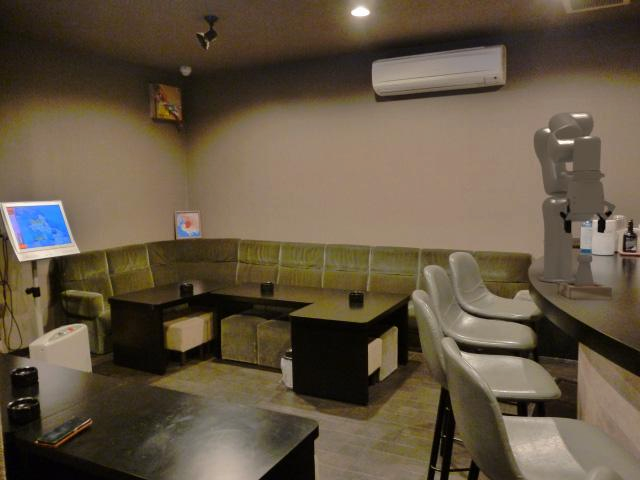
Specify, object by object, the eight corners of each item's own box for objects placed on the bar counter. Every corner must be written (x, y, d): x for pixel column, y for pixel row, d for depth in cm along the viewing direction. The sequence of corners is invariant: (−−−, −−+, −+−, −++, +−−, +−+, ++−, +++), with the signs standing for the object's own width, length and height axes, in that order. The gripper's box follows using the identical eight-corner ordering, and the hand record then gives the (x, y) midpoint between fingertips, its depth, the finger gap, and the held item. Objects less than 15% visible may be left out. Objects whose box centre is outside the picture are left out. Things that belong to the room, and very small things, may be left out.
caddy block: (557, 292, 164) (557, 281, 164) (594, 292, 163) (594, 281, 163) (571, 299, 153) (572, 287, 153) (611, 299, 152) (611, 287, 151)
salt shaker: (589, 294, 161) (590, 253, 160) (597, 297, 155) (598, 255, 154) (570, 294, 161) (571, 253, 160) (577, 297, 156) (578, 255, 155)
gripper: (609, 177, 158) (608, 231, 160) (552, 178, 160) (551, 232, 162) (621, 176, 151) (619, 233, 153) (561, 177, 153) (559, 234, 154)
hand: (584, 232), depth 157 cm, fingers open, 9 cm apart
